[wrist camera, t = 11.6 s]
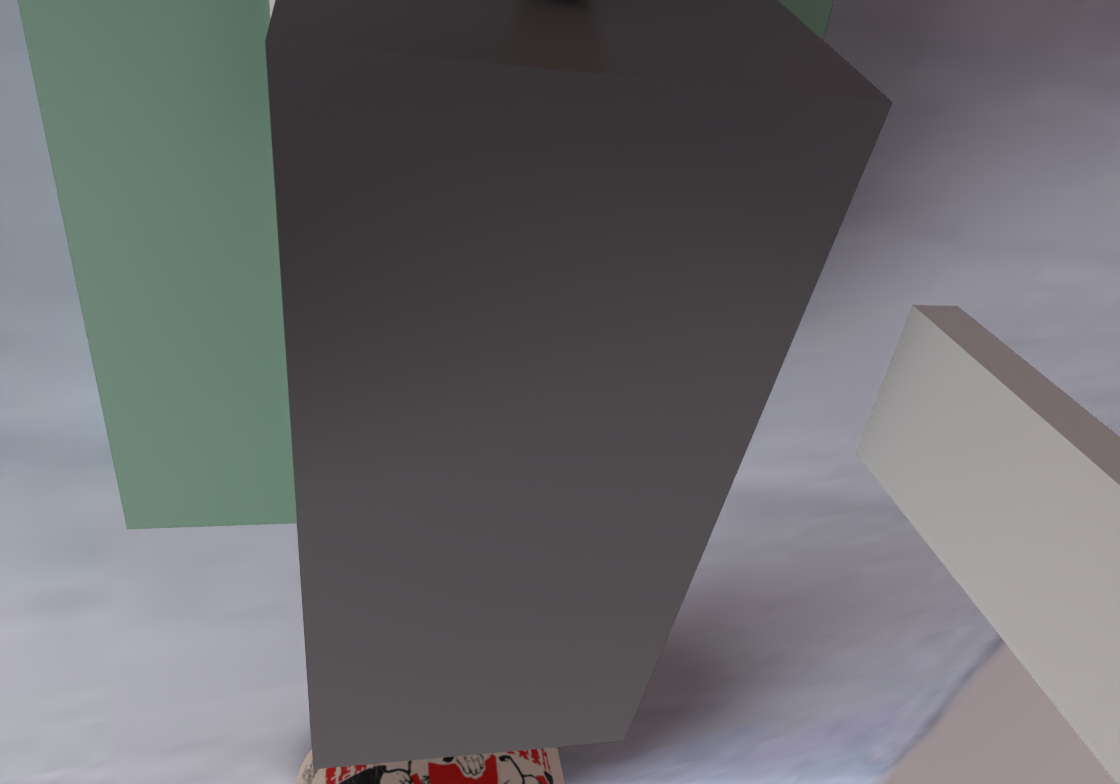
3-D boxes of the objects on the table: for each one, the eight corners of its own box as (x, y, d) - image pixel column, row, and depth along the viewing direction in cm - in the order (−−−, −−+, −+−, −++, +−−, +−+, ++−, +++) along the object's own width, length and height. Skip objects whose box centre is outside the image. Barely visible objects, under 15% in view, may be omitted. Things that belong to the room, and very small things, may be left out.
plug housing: (330, 416, 19) (312, 769, 13) (301, -736, 9) (162, -1527, 3) (548, 416, 20) (623, 741, 14) (752, -601, 10) (1338, -955, 4)
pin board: (136, 500, 20) (92, 630, 17) (-35, -381, 12) (-189, -458, 8) (684, 485, 23) (735, 591, 20) (865, -221, 15) (1005, -233, 12)
